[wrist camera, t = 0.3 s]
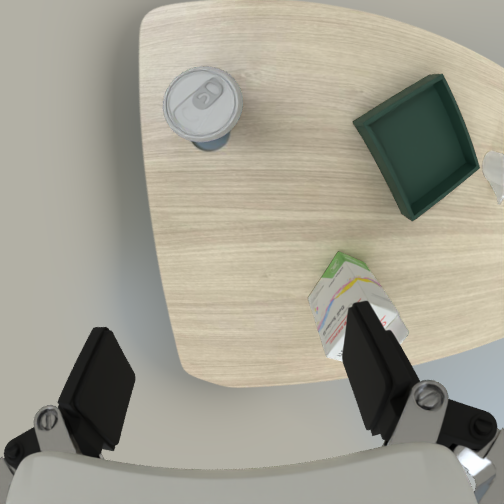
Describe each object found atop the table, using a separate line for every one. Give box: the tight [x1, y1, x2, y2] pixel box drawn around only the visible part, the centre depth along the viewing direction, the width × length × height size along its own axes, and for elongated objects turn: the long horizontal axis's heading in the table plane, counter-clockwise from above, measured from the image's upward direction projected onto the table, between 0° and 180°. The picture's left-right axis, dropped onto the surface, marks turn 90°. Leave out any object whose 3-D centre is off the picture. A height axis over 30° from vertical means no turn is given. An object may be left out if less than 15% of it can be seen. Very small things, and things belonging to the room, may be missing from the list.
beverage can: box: [163, 66, 243, 142], centre depth 22 cm, size 5×5×15 cm
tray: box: [353, 74, 480, 221], centre depth 30 cm, size 14×14×3 cm
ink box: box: [308, 252, 409, 361], centre depth 33 cm, size 9×5×15 cm, turn 155°
